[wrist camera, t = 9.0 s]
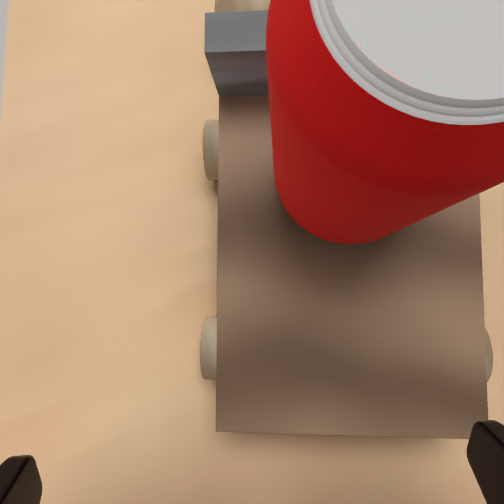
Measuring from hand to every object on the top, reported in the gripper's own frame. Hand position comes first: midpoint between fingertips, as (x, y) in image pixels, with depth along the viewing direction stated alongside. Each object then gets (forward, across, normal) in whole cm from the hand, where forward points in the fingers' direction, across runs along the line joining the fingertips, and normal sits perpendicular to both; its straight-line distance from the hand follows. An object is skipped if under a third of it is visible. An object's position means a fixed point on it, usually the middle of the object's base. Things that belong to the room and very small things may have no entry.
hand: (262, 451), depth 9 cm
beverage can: (+11, -5, -3) cm, 13 cm away
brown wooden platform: (+14, -5, +2) cm, 15 cm away
